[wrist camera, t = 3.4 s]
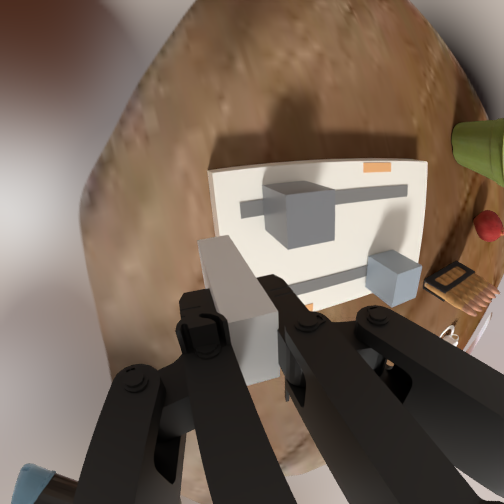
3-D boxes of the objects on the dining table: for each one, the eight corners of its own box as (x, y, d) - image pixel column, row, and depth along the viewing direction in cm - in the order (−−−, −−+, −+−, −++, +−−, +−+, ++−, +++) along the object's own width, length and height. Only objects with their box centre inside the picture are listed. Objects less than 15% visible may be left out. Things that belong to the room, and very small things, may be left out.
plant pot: (442, 100, 29) (503, 103, 19) (475, 119, 32) (525, 127, 22) (439, 174, 33) (500, 191, 23) (472, 182, 36) (521, 198, 26)
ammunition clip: (422, 288, 40) (472, 323, 30) (423, 279, 40) (475, 313, 29) (455, 268, 42) (500, 295, 32) (456, 260, 42) (503, 286, 31)
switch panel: (227, 316, 31) (233, 333, 28) (207, 170, 24) (212, 173, 22) (401, 268, 37) (415, 277, 34) (410, 158, 30) (428, 161, 28)
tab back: (365, 286, 31) (391, 307, 26) (368, 256, 29) (397, 274, 25) (389, 278, 32) (415, 297, 27) (393, 249, 30) (422, 265, 26)
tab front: (265, 229, 24) (287, 249, 20) (262, 185, 23) (285, 195, 18) (305, 223, 25) (334, 240, 21) (304, 180, 24) (335, 189, 19)
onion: (478, 199, 38) (510, 211, 31) (481, 222, 41) (510, 235, 34) (466, 216, 38) (499, 230, 31) (468, 239, 41) (499, 254, 34)
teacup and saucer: (429, 359, 53) (439, 368, 50) (430, 341, 50) (442, 350, 46) (451, 337, 54) (461, 345, 50) (454, 318, 50) (465, 326, 47)
